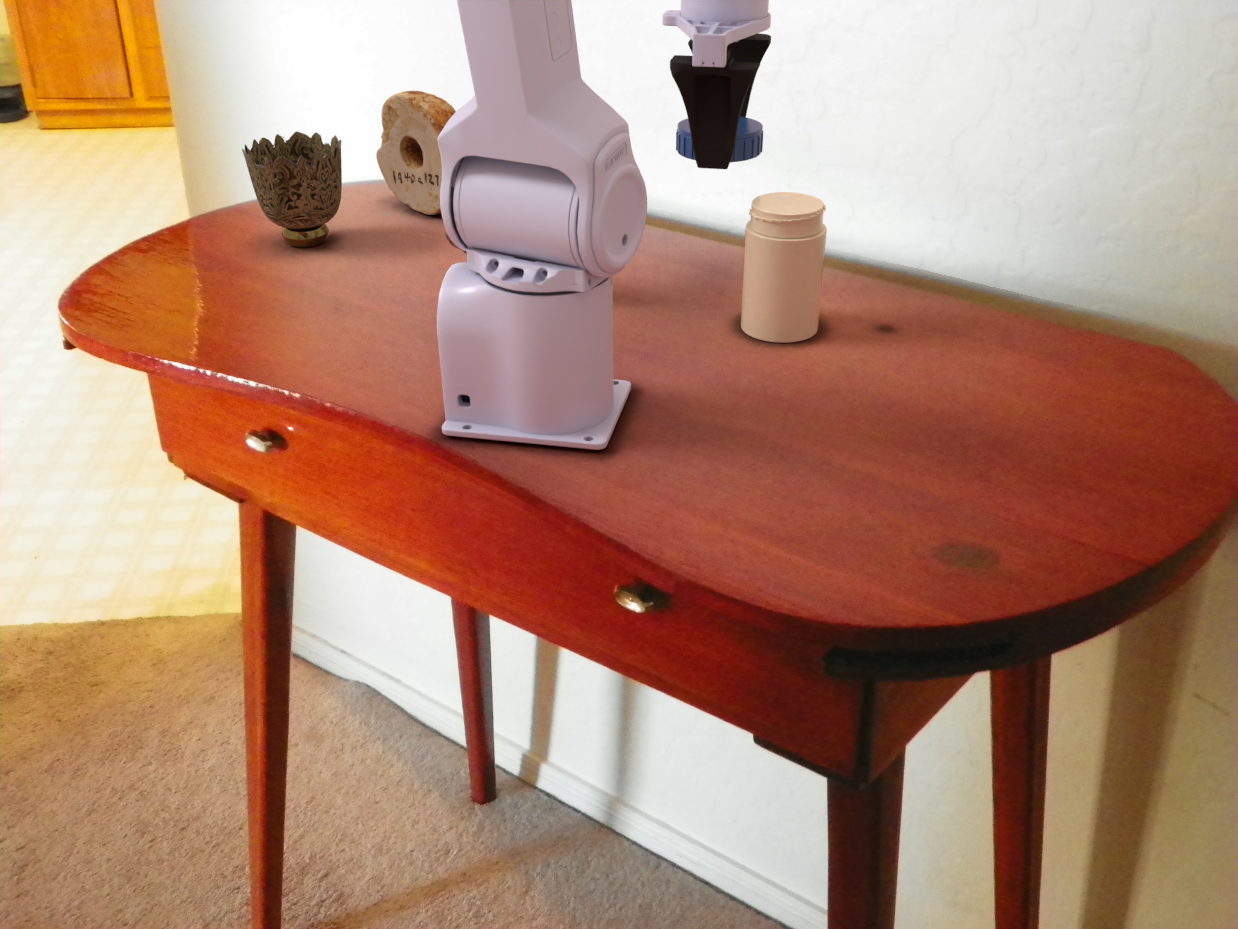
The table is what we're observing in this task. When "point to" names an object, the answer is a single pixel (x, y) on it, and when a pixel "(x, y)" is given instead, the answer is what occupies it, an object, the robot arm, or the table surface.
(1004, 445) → the table surface
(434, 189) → the stone disc
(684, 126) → the lid
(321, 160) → the cup
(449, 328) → the robot arm
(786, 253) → the jar
